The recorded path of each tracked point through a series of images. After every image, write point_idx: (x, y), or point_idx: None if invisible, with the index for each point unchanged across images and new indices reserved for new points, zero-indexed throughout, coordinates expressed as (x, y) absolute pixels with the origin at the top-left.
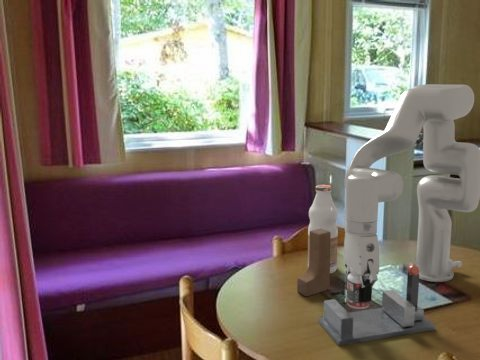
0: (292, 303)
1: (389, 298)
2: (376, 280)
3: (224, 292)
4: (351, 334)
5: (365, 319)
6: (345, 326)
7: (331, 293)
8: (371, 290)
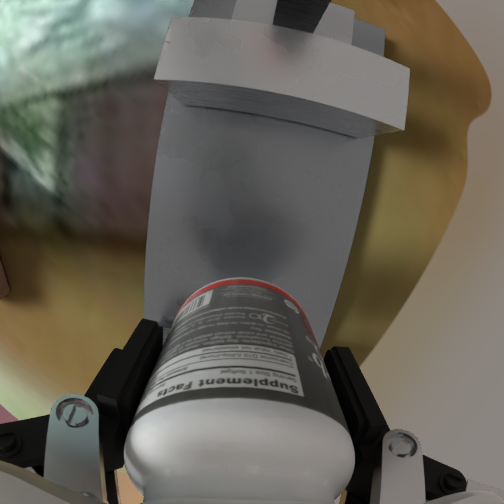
0: (39, 346)
1: (242, 90)
2: (493, 490)
3: (7, 409)
4: None
5: (224, 230)
6: None
7: (4, 203)
8: (370, 396)
